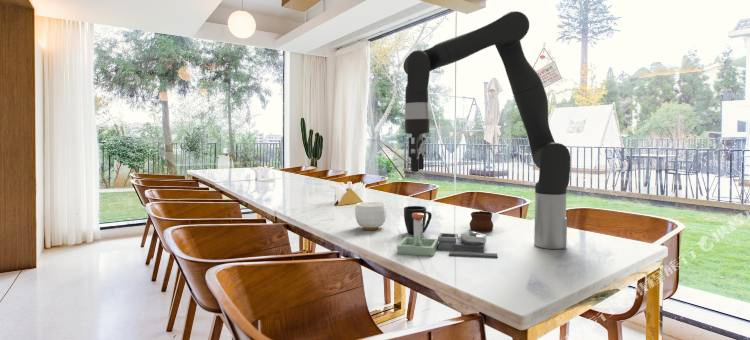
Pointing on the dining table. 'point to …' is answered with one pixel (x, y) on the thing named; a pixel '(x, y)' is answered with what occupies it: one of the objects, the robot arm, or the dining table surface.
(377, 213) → the cup
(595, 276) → the dining table surface
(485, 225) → the ceramic pot
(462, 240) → the grey stepped block
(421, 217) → the lock pin
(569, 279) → the dining table surface
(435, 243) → the tray
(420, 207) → the mug
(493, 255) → the strip
